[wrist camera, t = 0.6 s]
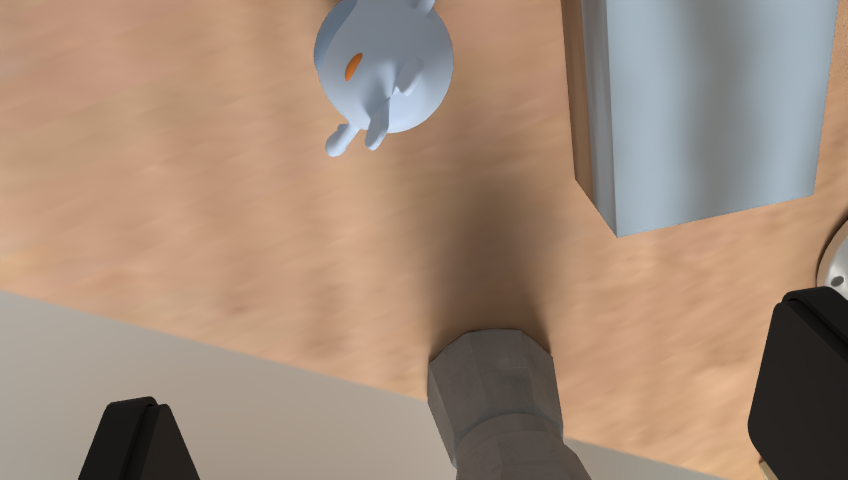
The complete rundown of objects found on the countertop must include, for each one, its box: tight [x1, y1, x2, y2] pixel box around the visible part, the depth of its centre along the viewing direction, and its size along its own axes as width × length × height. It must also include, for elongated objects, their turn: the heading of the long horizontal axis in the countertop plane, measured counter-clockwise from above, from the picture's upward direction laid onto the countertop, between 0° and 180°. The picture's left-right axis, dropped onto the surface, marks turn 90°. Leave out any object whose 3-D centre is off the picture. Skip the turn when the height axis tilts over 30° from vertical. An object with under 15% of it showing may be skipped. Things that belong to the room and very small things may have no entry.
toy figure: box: [314, 0, 453, 157], centre depth 28 cm, size 11×6×12 cm, turn 148°
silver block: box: [561, 0, 839, 238], centre depth 32 cm, size 10×14×7 cm
